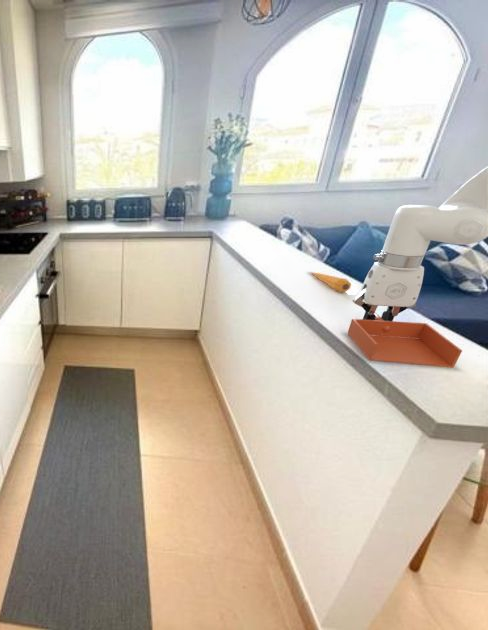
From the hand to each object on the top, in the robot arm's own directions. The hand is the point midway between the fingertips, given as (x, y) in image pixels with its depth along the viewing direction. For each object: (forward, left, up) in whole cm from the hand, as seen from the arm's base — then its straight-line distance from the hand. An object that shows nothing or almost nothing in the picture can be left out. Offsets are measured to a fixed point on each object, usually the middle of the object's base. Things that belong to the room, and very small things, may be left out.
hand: (374, 326), depth 90 cm
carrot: (0, -34, -1) cm, 34 cm away
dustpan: (0, +6, 0) cm, 6 cm away
